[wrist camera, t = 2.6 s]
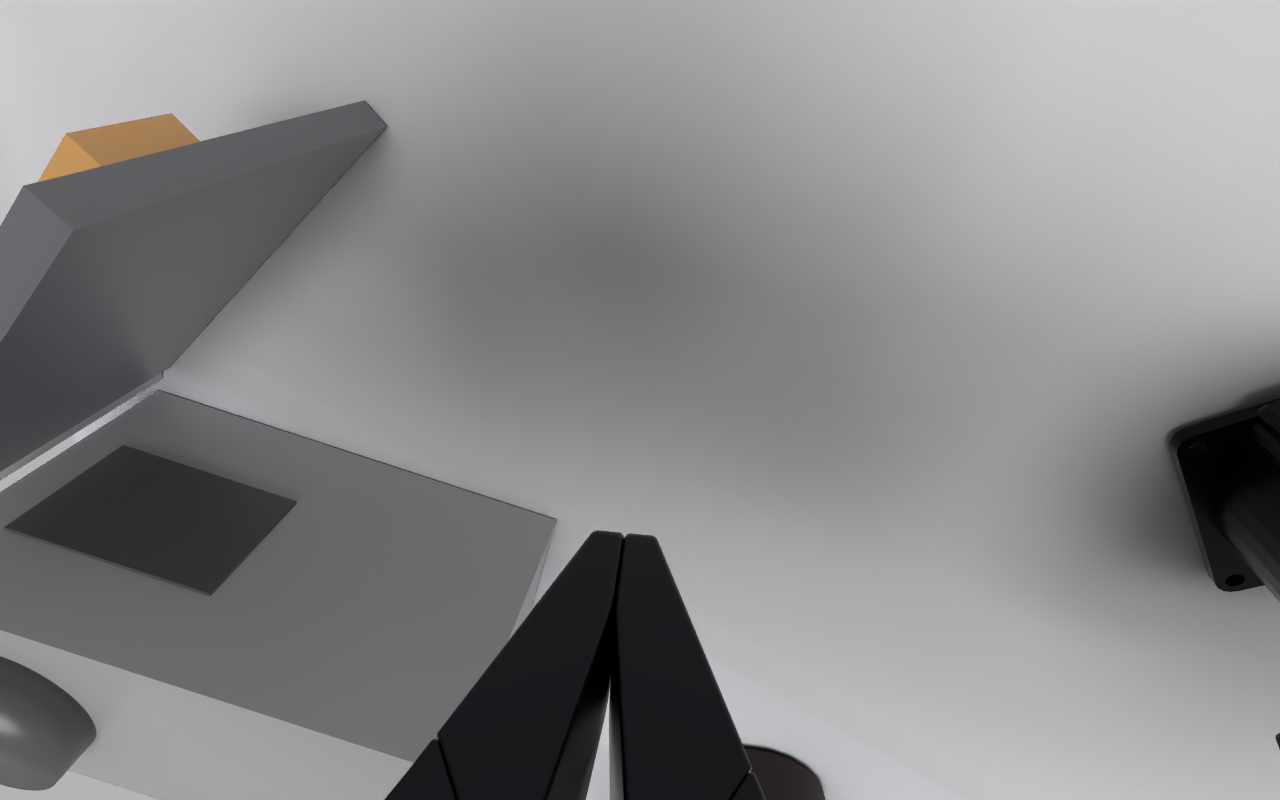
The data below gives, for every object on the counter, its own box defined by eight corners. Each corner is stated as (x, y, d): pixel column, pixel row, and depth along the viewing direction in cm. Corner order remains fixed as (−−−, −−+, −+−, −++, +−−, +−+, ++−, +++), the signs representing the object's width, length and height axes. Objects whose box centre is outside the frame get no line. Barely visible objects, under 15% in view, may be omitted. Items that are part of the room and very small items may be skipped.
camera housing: (557, 517, 24) (434, 824, 15) (524, 632, 28) (410, 932, 19) (158, 387, 24) (-206, 619, 15) (180, 521, 28) (-99, 770, 19)
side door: (155, 385, 24) (-150, 577, 16) (106, 343, 23) (-238, 523, 15) (388, 127, 18) (76, 232, 10) (329, 61, 17) (-58, 114, 9)
